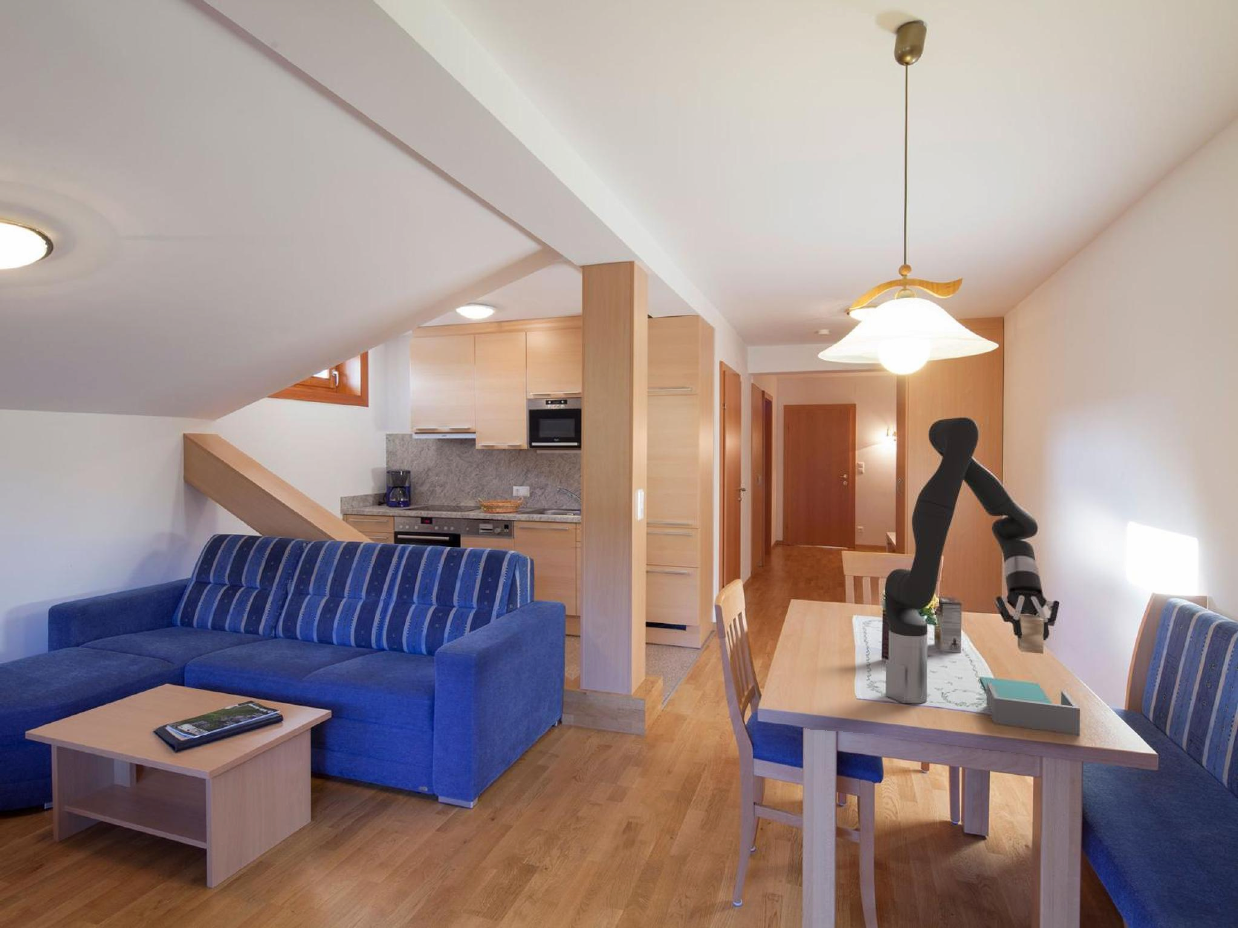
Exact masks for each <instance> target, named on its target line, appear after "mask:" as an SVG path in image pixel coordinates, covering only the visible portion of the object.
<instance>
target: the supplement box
mask: <svg viewBox="0 0 1238 928" xmlns="http://www.w3.org/2000/svg"><path fill="white" fill-rule="evenodd" d="M881 618H882V619H881V620H882V621H881V625H882V627H881V628H882V629H881V660H882V661H884V662H885V663H886V660H888V659H889V623H888V621H887V618H886V610H885V609H884V608H883V609H882V617H881Z"/></svg>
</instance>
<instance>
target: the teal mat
mask: <svg viewBox="0 0 1238 928" xmlns="http://www.w3.org/2000/svg"><path fill="white" fill-rule="evenodd" d="M979 679H980V681H981V683H982V685H984V686H983V688H984V687H985V688H984V691H985V692H986V691H987V682H990V683H992V685H993V687H994V689H995V691H996V693H997V695H998V697H1000V698H1009V699H1017V700H1025V701H1034V702H1042V703H1050V704H1053V703H1052V701H1051V700H1050V698H1049V697H1048V695H1047V694H1046V692H1045V691H1044V689H1042V687H1041V685H1040V684H1039V683H1038V682H1031V681H1024V680H1023V681H1021V680H1015V679H1014V680H1012V679H1007V678H1006V679H1004V678H995V677H986V676H980V678H979Z"/></svg>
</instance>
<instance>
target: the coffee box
mask: <svg viewBox="0 0 1238 928" xmlns="http://www.w3.org/2000/svg"><path fill="white" fill-rule="evenodd" d="M937 597H938V598H939V606H938V607H937V609H936V611H935V610H934V611H935V612H934V611H933V612H934V613H935V615H936V618H937V621H938V626H934V625H933V626H934V627H933V630H934V631H933V633H934V634H933V635H934V636H933V637H934V640H933V641H934V642H933V643H934V645H935V647H936V648H938V650H939V651H940V652H943V653H944V652H945V653H948V652H949V653H962V615H963V612H962V611H963V606H962V605H963V604H962V603H961V602H960V601H959V600H958V599H957V598H955V597H947V596H945V597H943V596H937Z"/></svg>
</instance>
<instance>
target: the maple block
mask: <svg viewBox="0 0 1238 928" xmlns="http://www.w3.org/2000/svg"><path fill="white" fill-rule="evenodd" d="M1019 621H1020V625H1021V631H1022V636H1021V638H1017V648H1018V649H1019V650H1020V652H1022V653H1031V654H1040V655H1044V640H1043V634H1044V620H1043V619H1042V618H1041V617H1039V616H1035V615H1030V614H1020V615H1019Z"/></svg>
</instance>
